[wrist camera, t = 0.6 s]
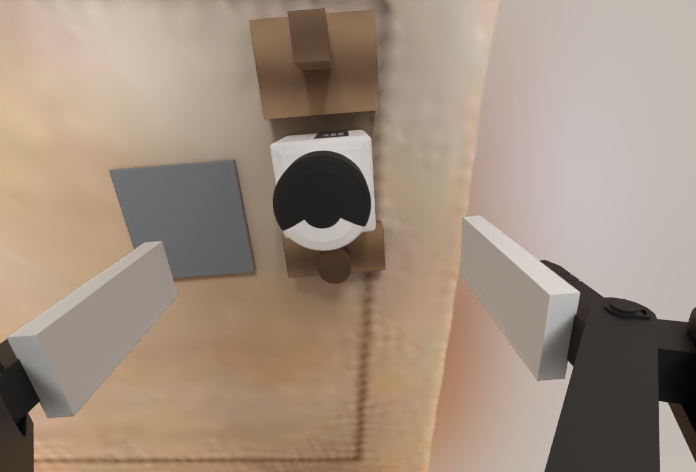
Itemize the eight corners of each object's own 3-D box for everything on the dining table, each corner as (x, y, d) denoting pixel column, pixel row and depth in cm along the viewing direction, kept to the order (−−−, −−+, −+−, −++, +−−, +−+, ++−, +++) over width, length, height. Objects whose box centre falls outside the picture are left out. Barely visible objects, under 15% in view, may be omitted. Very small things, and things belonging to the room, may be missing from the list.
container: (284, 135, 33) (251, 152, 21) (364, 128, 33) (378, 141, 21) (295, 212, 36) (271, 267, 24) (369, 206, 36) (384, 258, 23)
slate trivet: (112, 169, 34) (108, 170, 33) (234, 159, 34) (232, 160, 33) (147, 278, 38) (144, 280, 37) (255, 269, 38) (254, 272, 37)
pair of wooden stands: (256, 26, 30) (225, -3, 22) (371, 17, 30) (383, -16, 22) (291, 266, 38) (278, 309, 30) (382, 259, 38) (393, 300, 30)
